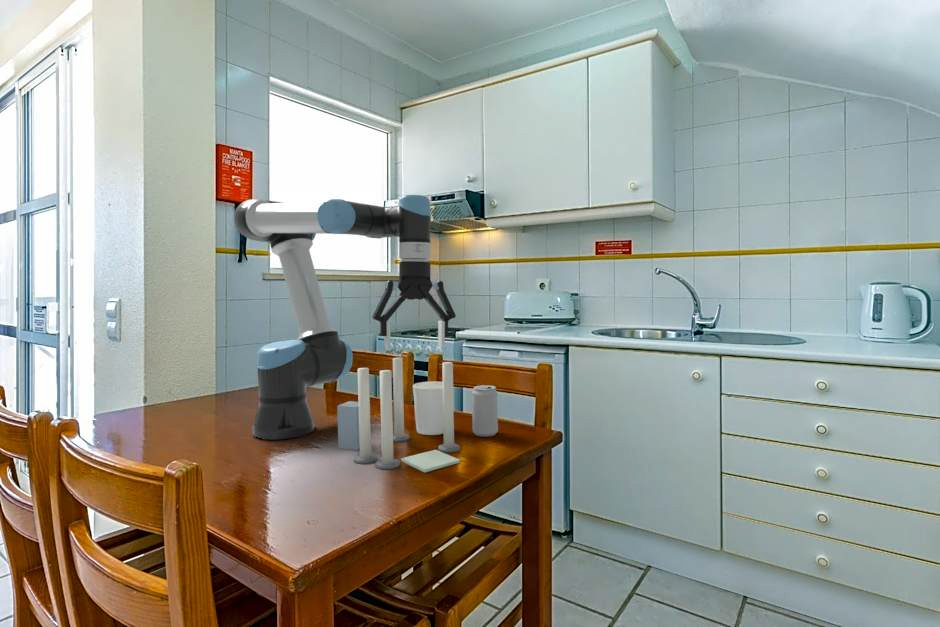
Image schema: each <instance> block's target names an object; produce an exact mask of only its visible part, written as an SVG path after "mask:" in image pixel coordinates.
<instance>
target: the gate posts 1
mask: <svg viewBox="0 0 940 627" xmlns="http://www.w3.org/2000/svg"><path fill="white" fill-rule="evenodd" d="M403 359H404V358H403V357H393V358H392V385H393V386H392V389H393V390H392V398H393V428H394V430H393V443H394V442H395V443H401V442H402V443H403V442H407V441H409V440H410V439H411V438H410V437H411V436H410V434H408V433H405V414H404V412H405V411H404V409H405V408H404V372H403V371H404V368H403V366H404V364H403V361H404V360H403ZM370 394H371V393H370V369H369V367H359V368H357V396H358V398H357V399H358V401H357V402H358V407H359V443H360V449H359V454H357V455H355V456H354V457H353V462H354V463H355V464H360V465H369V464H372V463H376V462H377V461H378V455H377V454H375V453H372V441H371V440H372V438H371V437H372V436H371V435H372V434H371V433H372V432H371V405H370V404H371V400H370V399H371V398H370Z"/></svg>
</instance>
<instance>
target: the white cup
mask: <svg viewBox="0 0 940 627" xmlns="http://www.w3.org/2000/svg"><path fill="white" fill-rule="evenodd" d="M412 391H413V394H412V395H413V404H414V418H415V428H416V432H417V434H420V435H424V436H425V435H426V436H438V435H442V434H443V435H444V432H443V381H435V380H434V381H421V382H415V383H414V384H413V385H412Z"/></svg>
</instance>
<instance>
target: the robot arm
mask: <svg viewBox="0 0 940 627" xmlns="http://www.w3.org/2000/svg"><path fill="white" fill-rule="evenodd" d="M431 219H432V213H431V200H430V198H429V197H428V196H426V195H421V194H405V195H401V196H400V197H399V199H398V205H394V206H380V205H373V204H368V203H367V204H365V203H360V202H355V201H350V200H345V199H340V198H327V199H325V200H324V201H306V202H304V201H303V202H281V201H275V200H269V199H268V200H267V199H262V198H261V199H260V198H253V199H252V198H251V199H246V200H245V201H242V202H241V203H240V204H239V205H238V206H237V207H236V209H235V211H234V214H233V220H234V221H233V222H234V225H235V227H236V229H237V231H238V232H239V233H240V234H241V235H243V236H244V237H245V238H247V239H249V240H252V241H257V242H261V243H262V242H263V243H264V242H265V243H269V246H270V249H271V252H272V253H273V254H274V255H275V256H278V258H279V261H280V265H281V269H282V273H283V276H284V279H285V283H286V287H287V288H286V289H287V292H288V295H289V299H290V303H291V307H292V310H293V314H294V317H295V321H296V324H297V329H298V333H299V336H298V338H296V339H287V340H281V341H280V340H279V341H275V342H271V343H268V344H265V345H262V346H261V347H260V348H259V350H258V351H257V355H256V357H257V358H256V368H257V384H258V385H257V387H258V391H257V392H258V406H257V410H256V414H255V417H254V423H253V424H252V436H253V435H254V436H255V437H254V436H253V437H254V438H256V437H258V438H257V439H259V438H262V439H261V440H267V439H268V440H269V441H273V440H287V439H292V438H298V437H302V436H304V435H308V434H310V433H312V432H313V431H314V430H315V420H314V418H313V417H312V412H311V410H310V409H311V408H310V407H309V404H308V400H307V388H308V387H313V386H318V385H322V384H326V383H328V384H331V383H334V382H336V381H340V380H342V379H344V378H345V377H346V376H348V374H349V373H350V370H351V368H352V366H353V360H354V358H353V356H354V354H353V350H352V348H351V345H350V344H349V343H348V342H347V341H346V340H345V339H341V338H340V336H339V333H338V330H336V329H335V328H334V327H331V324H330V321H329V318H328V313H327V310H326V307H325V302H324V299H323V296H322V292H321V288H320V285H319V281H318V277H317V272H316V269H315V267H314V264H313V259H312V255H311V251H310V249H311V248H312V246H313V244H314V243H313V241H314V239H315V238H316V235H317V234H324V235H325V234H328V235H329V234H331V235H350V236H351V235H352V236H353V235H354V236H363V237H366V238H370V239H384V238H397V237H398V242H399V243H398V250H399V251H398V252H399V255H398V258H399V260H401V261H400V262H399V263H398V271H399V272H398V276H399V277H398V278H399V279H398V281H393V280H386V281H385V289H384V292H383V294H382V296H381V298H380V299H379V302H378V304H377V306H376V307H375V311H374V313H373V315H372V319H373V320H375V321H378V322H379V324H380V327H379V328H380V333H379V334H380V336H381V337H384V350H385V351H391V322H389V321H388V320H390V318H391V317H392V316H393V315H394V313H395V312H396V311H397V310H398V309H399V307H401V305H402V303H404V301H405V302H406V299H407V300H409V301H410V300H411V301H413V300H419V301H420V300H425V301H426V302H427V304H428V305H430V307H431V309H433V310H434V312H435V313H436V315H437V316H438V317H439V318H440V319H441V320H438V321H437V331H438V332H437V347H439V348H443V349H445V346H446V345H445V344H446V343H445V339H446V338H445V336H446V335H447V334H448V333H449V322H450V320H452V319H454V318H456V317H457V316H456V313H455V310H454V308H453V307H452V304H451V302H450V299H449V298H448V296H447V294H446V292H445V288H444V282H443V281H442V280H437V281H433V282H432V280H431V263H430V261H429V260H430V259H431V226H432V224H431ZM396 288H397V289H398V290H399V291H400V293H398V295H397V296H396V298H395V300H393V302H392V303H391V304H390V306H389V307H387V309H386V310H385V308H386V306H387V304H388V301H389V300H390V298H391V296H392V293H393V291H395V290H396ZM432 288H433V289H434V291H436V293H437V296H438V297H439V300H440V302H441V305H442V306H443V308H442V307H441V305H439V304H438V302H437V301H436V299H434V297H433V295H432V294H431V292H430V291H431V289H432ZM383 312H384V313H383Z"/></svg>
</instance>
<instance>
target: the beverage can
mask: <svg viewBox="0 0 940 627" xmlns="http://www.w3.org/2000/svg"><path fill="white" fill-rule="evenodd" d="M472 389H473V390H472V391H471V411H472V412H471V413H472V416H471V419H472V420H471V421H472V432H473V434H474V435H475V436H477V437H482V438H483V437H484V438H486V437H487V438H488V437H493V436H495V435H496V434H497V433H498V431H499V424H498V423H499V420H498V416H499V415H498V414H499V413H498V391H497V387H496V386H495V385H490V384H489V385H488V384H487V385H486V384H481V385H480V384H479V385H476V386H473V388H472Z"/></svg>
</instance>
